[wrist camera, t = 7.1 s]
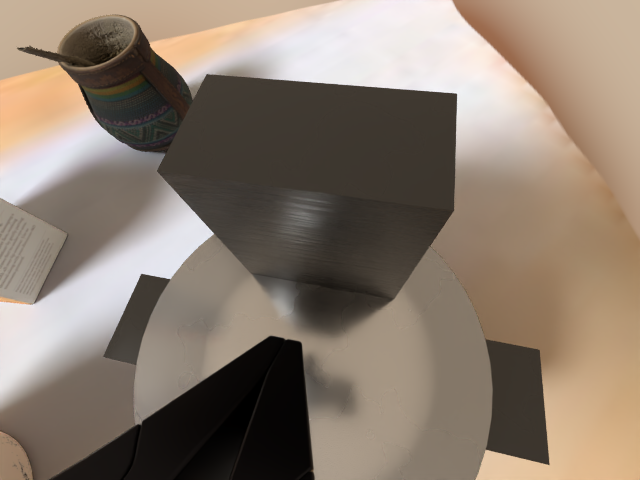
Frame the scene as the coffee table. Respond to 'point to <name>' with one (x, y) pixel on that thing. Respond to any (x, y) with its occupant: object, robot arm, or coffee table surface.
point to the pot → (506, 370)
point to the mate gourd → (124, 81)
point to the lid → (328, 270)
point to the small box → (25, 253)
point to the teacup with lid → (13, 460)
